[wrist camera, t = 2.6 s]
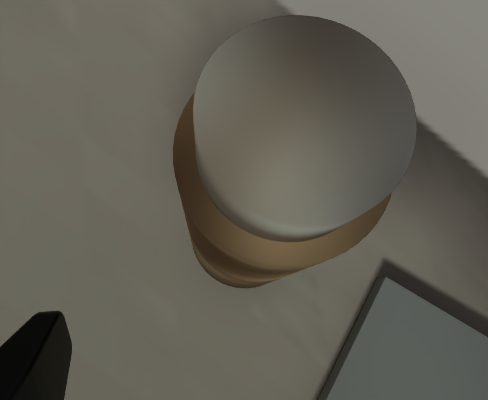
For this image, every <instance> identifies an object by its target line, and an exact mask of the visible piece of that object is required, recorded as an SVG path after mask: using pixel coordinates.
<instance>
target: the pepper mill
mask: <svg viewBox="0 0 488 400" xmlns="http://www.w3.org/2000/svg"><path fill="white" fill-rule="evenodd" d="M416 134H417V123H416V113H415V107H414V103H413V100H412V97H411V93H410V91H409V89H408V86H407V84H406V82H405V80H404V78H403V76H402V75H401V73H400V71H399V70H398V68H397V67H396V66H395V64H394V63H393V62H392V60H391V59H390V58H389V57H388V56H387V55H386V54H385V53H384V52H383V51H382V50H381V49H380V48H379V47H378V46H377V45H376V44H374V43H373V42H372V41H371V40H370V39H368V38H366V37H365V36H364V35H362V34H360V33H359V32H357V31H355V30H353V29H351V28H349V27H347V26H345V25H343V24H340V23H337V22H334V21H332V20H327V19H323V18H319V17H312V16H302V15H290V16H280V17H274V18H270V19H265V20H262V21H259V22H257V23H254V24H251V25H249V26H247V27H245V28H243V29H241V30H240V31H238V32H237V33H235V34H234V35H232V36H231V37H229V38H228V39H227V40H226V41H225V42H224V43H223V44H222V45H220V46H219V47H218V49H217V50H216V51H215V52H214V53H213V55H212V56H211V57H210V59H209V60H208V62H207V64H206V65H205V67H204V68H203V71H202V73H201V75H200V78H199V80H198V83H197V87H196V91H195V93H194V94H193V95H192V97H191V98H190V100H189V101H188V103H187V105H186V106H185V108H184V110H183V112H182V114H181V117H180V119H179V121H178V125H177V129H176V132H175V137H174V145H173V164H174V170H175V177H176V181H177V185H178V189H179V193H180V197H181V201H182V205H183V209H184V213H185V217H186V221H187V225H188V229H189V233H190V237H191V241H192V245H193V249H194V252H195V255H196V257H197V259H198V261H199V263H200V264H201V266H202V267H203V268H204V270H205V271H206V272H207V273H208V274H209V275H210V276H212V277H213V278H214V279H216V280H217V281H219V282H221V283H223V284H226V285H228V286H232V287H236V288H252V287H258V286H261V285H264V284H266V283H269V282H272V281H274V280H277V279H279V278H282V277H285V276H287V275H290V274H292V273H295V272H298V271H300V270H303V269H306V268H308V267H311V266H313V265H316V264H319V263H321V262H324V261H326V260H329V259H332V258H334V257H336V256H338V255H340V254H342V253H344V252H346V251H348V250H349V249H350V248H352V247H353V246H355V245H356V244H358V243H359V242H360V241H361V240H362V239H363V238H364V237H365V236H367V235H368V234H369V233H370V231H371V230H372V229H373V228H374V226H375V225H376V224H377V223H378V221H379V219H380V218H381V216H382V214H383V213H384V211H385V209H386V207H387V204H388V202H389V200H390V197H391V193H392V191H393V190H394V188H395V187H396V186H397V185H398V184H399V182H400V181H401V179H402V178H403V176H404V174H405V173H406V171H407V169H408V166H409V164H410V162H411V159H412V156H413V152H414V148H415V143H416Z"/></svg>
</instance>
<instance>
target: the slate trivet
mask: <svg viewBox="0 0 488 400" xmlns="http://www.w3.org/2000/svg"><path fill="white" fill-rule="evenodd" d="M318 400H488V337H487V336H485V335H483V334H481V333H480V332H478V331H476V330H475V329H473V328H471V327H470V326H468V325H466V324H465V323H463V322H461V321H460V320H458V319H456V318H455V317H453V316H451V315H449V314H448V313H446V312H444V311H443V310H441V309H439V308H438V307H436V306H434V305H433V304H431V303H429V302H428V301H426V300H424V299H422V298H421V297H419V296H417V295H416V294H414V293H412V292H411V291H409V290H407V289H406V288H404V287H402V286H401V285H399V284H397V283H396V282H394V281H392V280H390V279H389V278H387V277H381V278H377V280H376V282H375V284H374V286H373V288H372V290H371V292H370V294H369V296H368V298H367V300H366V302H365V304H364V306H363V308H362V310H361V312H360V314H359V316H358V318H357V321H356V323H355V325H354V327H353V329H352V331H351V333H350V335H349V337H348V339H347V341H346V343H345V345H344V347H343V349H342V351H341V353H340V355H339V357H338V359H337V361H336V363H335V365H334V368H333V370H332V372H331V374H330V376H329V378H328V380H327V382H326V384H325V386H324V388H323V390H322V392H321V394H320V396H319V398H318Z"/></svg>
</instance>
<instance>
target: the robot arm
mask: <svg viewBox="0 0 488 400" xmlns="http://www.w3.org/2000/svg"><path fill="white" fill-rule="evenodd" d="M71 354H72V342H71V338H70V335H69V331H68V328H67V324H66V321H65V318H64V315H63V314H62V312H60V311H48V312H39V313H37V314H35V315H34V316H32V317H31V318H30V319H29V320H28V321H27V322H26V323H25V324H24V325H23V326H22V327H21V328H20V329H19V330H18V331H16V332H15V333H14V334H13V335H12V336H11V337H10V338H9V339H8V340H7V341H6V342H5V343H4V344H3V345H2V346H1V347H0V400H64V396H65V390H66V385H67V379H68V373H69V367H70V361H71Z"/></svg>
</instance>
